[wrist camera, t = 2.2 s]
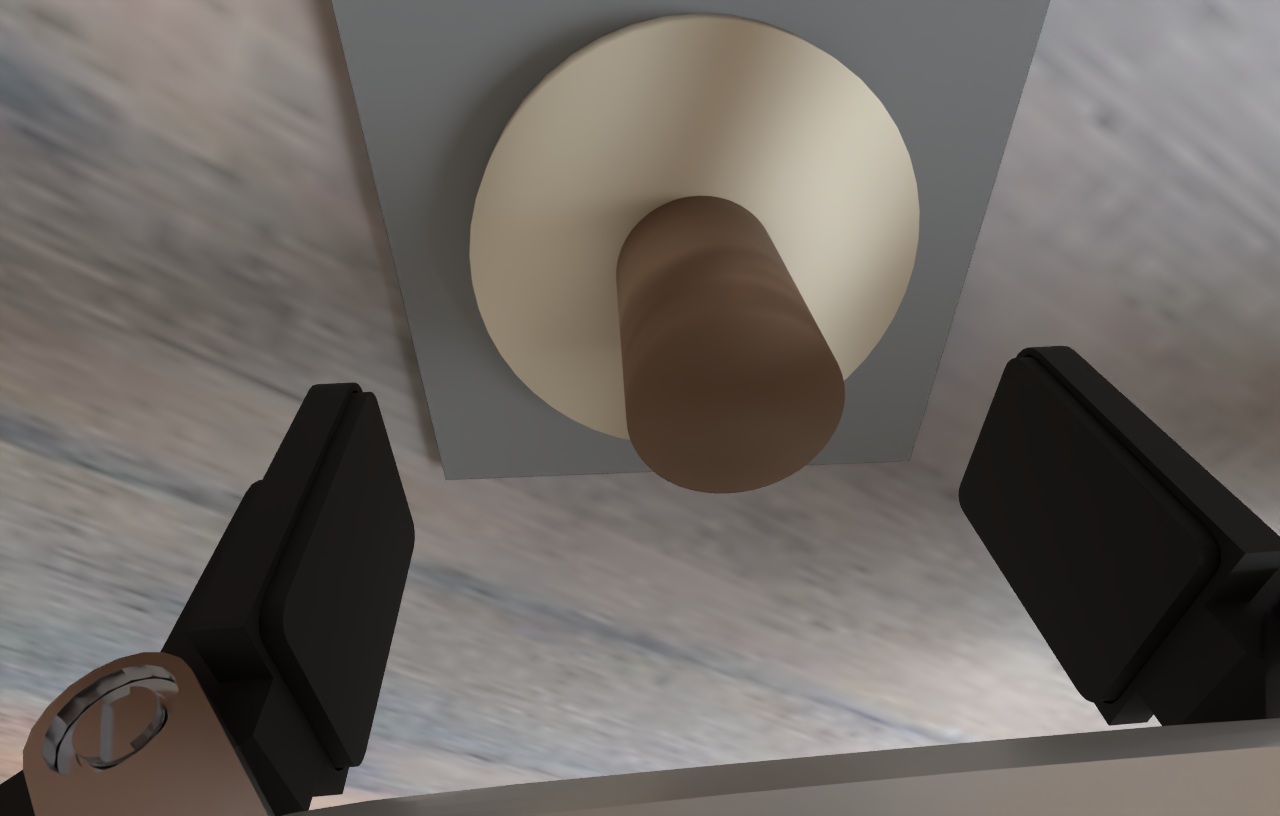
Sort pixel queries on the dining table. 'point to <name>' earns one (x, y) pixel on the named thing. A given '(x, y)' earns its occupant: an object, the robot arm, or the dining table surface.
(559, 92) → the lid
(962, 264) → the mat
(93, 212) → the dining table surface
